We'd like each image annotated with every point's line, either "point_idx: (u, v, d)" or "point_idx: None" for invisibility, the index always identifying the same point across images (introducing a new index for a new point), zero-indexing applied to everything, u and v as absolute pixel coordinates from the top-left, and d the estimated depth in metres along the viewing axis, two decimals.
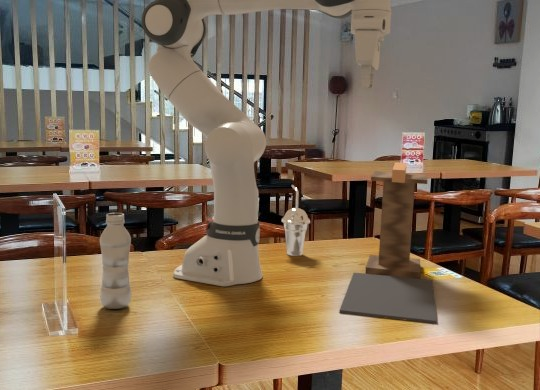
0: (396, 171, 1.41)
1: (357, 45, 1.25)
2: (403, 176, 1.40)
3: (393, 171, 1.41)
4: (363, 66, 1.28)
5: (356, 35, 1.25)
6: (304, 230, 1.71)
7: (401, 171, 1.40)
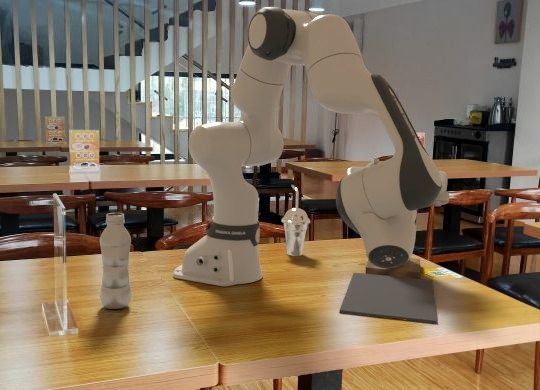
0: None
1: None
2: None
3: None
4: None
5: None
6: (304, 230, 1.71)
7: None
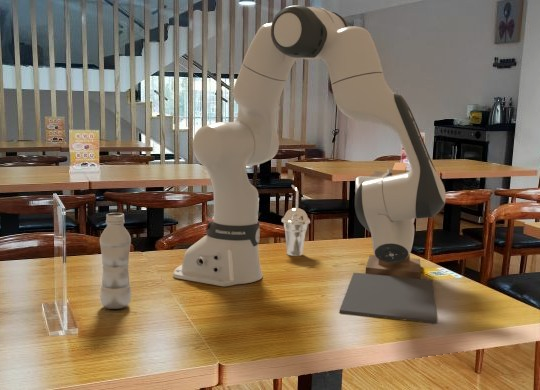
0: (396, 171, 1.41)
1: (355, 184, 1.40)
2: None
3: (393, 171, 1.41)
4: None
5: (356, 189, 1.38)
6: (304, 230, 1.71)
7: (401, 171, 1.40)
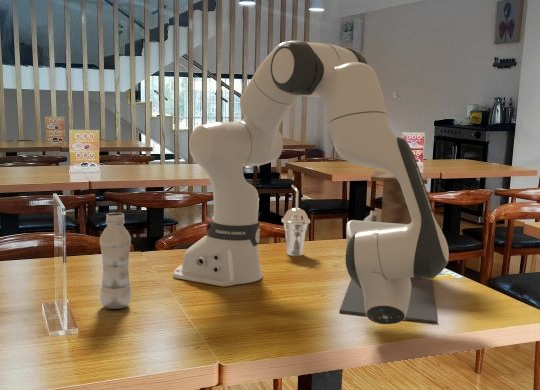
0: None
1: (346, 230, 1.26)
2: None
3: None
4: None
5: (347, 236, 1.24)
6: (304, 230, 1.71)
7: None
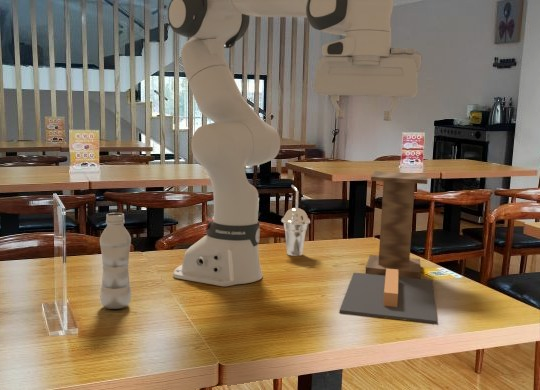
0: (388, 294, 1.29)
1: None
2: (396, 300, 1.28)
3: (385, 294, 1.29)
4: None
5: None
6: (304, 230, 1.71)
7: (393, 294, 1.28)
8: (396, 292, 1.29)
